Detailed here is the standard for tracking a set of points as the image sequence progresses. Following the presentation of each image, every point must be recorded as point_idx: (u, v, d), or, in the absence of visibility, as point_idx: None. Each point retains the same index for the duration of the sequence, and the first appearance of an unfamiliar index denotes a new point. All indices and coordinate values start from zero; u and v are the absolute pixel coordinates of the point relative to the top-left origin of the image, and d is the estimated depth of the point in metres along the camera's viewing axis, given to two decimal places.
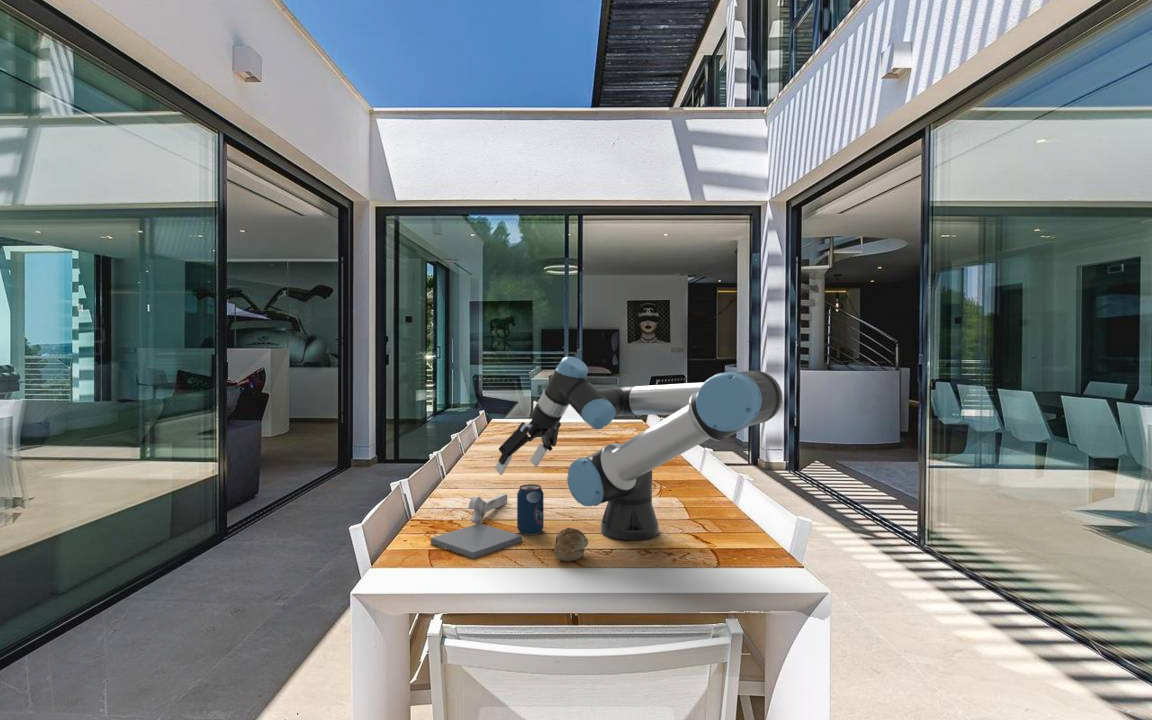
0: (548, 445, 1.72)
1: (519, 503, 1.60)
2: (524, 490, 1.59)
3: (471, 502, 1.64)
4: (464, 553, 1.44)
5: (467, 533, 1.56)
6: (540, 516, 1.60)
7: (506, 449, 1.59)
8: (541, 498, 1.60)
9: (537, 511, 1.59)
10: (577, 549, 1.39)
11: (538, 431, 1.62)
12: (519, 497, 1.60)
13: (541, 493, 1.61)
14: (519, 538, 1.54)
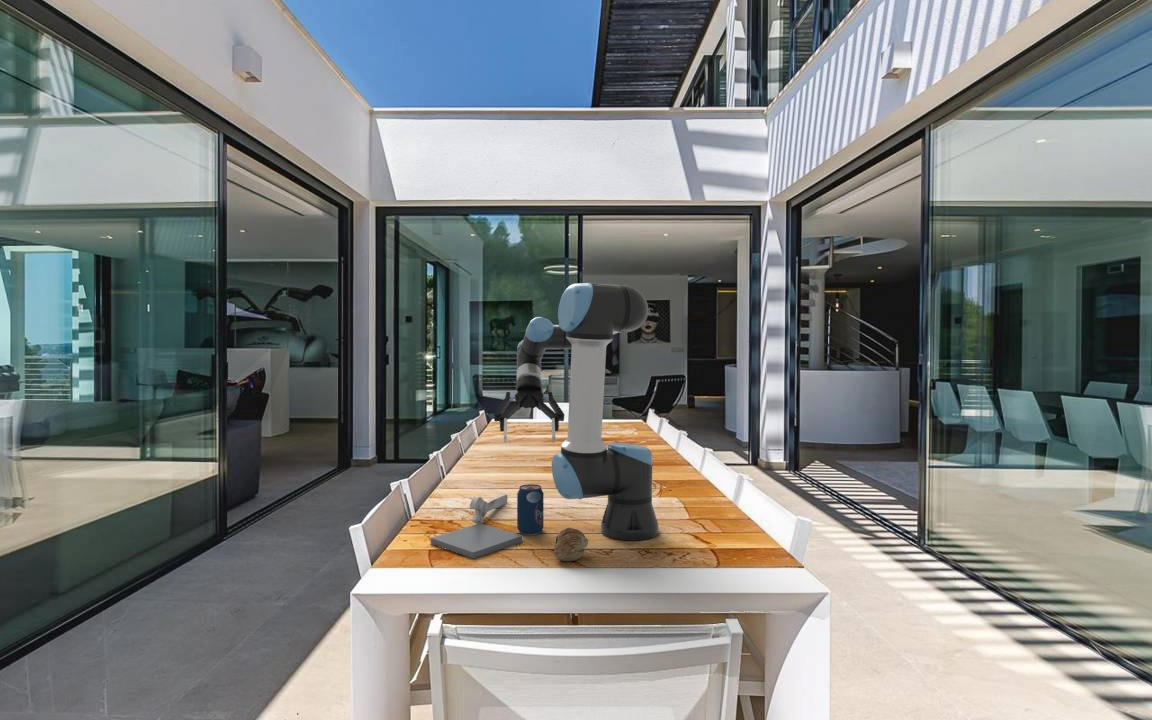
0: (552, 413, 1.78)
1: (519, 503, 1.60)
2: (524, 490, 1.59)
3: (472, 502, 1.64)
4: (464, 553, 1.44)
5: (467, 533, 1.56)
6: (540, 516, 1.60)
7: None
8: (541, 498, 1.60)
9: (537, 511, 1.59)
10: (577, 549, 1.39)
11: None
12: (519, 497, 1.60)
13: (541, 493, 1.61)
14: (519, 538, 1.54)
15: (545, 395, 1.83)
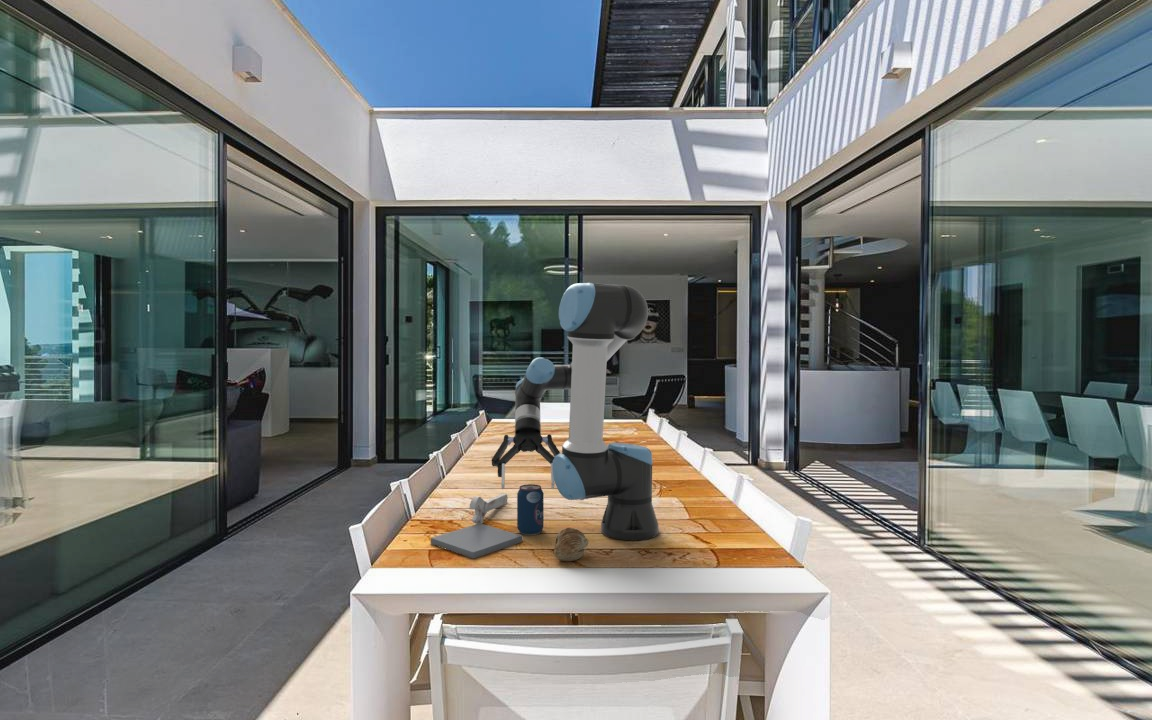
0: (552, 458, 1.73)
1: (519, 503, 1.60)
2: (524, 490, 1.59)
3: (472, 502, 1.64)
4: (464, 553, 1.44)
5: (467, 533, 1.56)
6: (540, 516, 1.60)
7: None
8: (541, 498, 1.60)
9: (537, 511, 1.59)
10: (577, 549, 1.39)
11: None
12: (519, 497, 1.60)
13: (541, 493, 1.61)
14: (519, 538, 1.54)
15: (544, 438, 1.78)
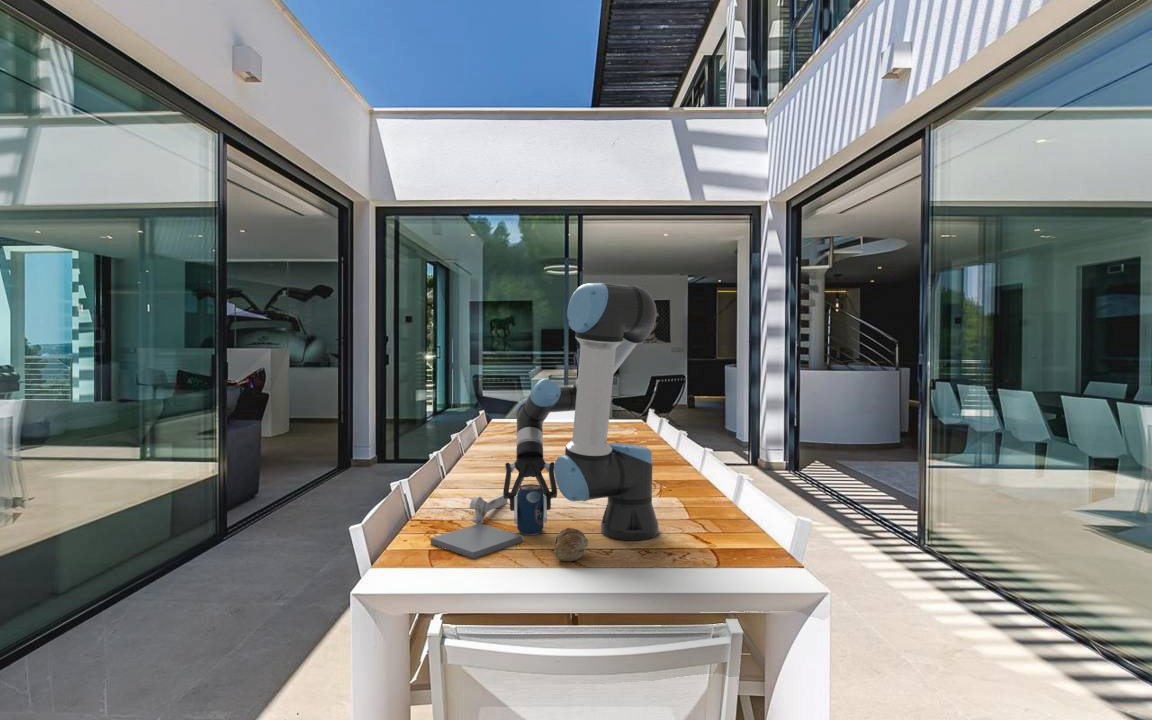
0: (545, 489, 1.64)
1: (519, 503, 1.60)
2: (524, 490, 1.59)
3: (472, 502, 1.65)
4: (464, 553, 1.44)
5: (467, 533, 1.56)
6: (540, 516, 1.60)
7: (504, 489, 1.64)
8: (541, 498, 1.60)
9: (537, 511, 1.59)
10: (577, 549, 1.39)
11: (523, 463, 1.69)
12: (519, 497, 1.60)
13: (541, 493, 1.61)
14: (519, 538, 1.54)
15: (547, 464, 1.70)
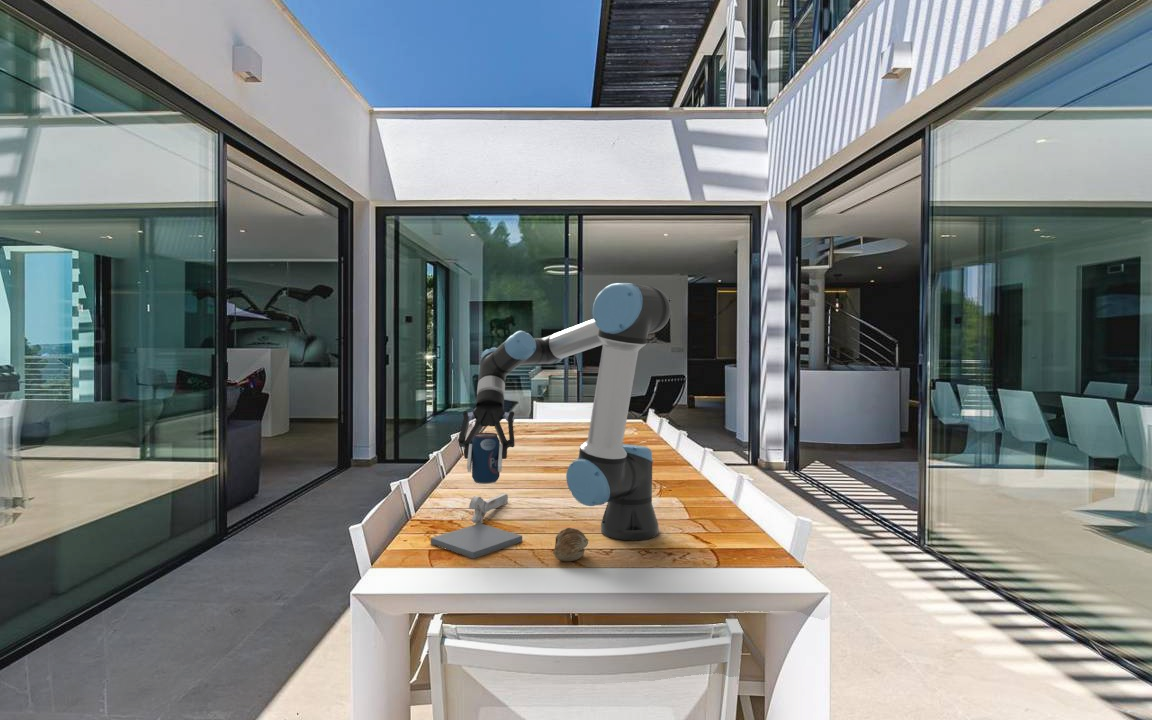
0: (502, 438, 1.58)
1: (473, 451, 1.54)
2: (478, 437, 1.53)
3: (472, 502, 1.65)
4: (464, 553, 1.44)
5: (467, 533, 1.56)
6: (495, 465, 1.54)
7: None
8: (496, 446, 1.54)
9: (491, 459, 1.53)
10: (577, 549, 1.39)
11: None
12: (473, 444, 1.54)
13: (496, 441, 1.55)
14: (519, 538, 1.54)
15: (506, 413, 1.64)
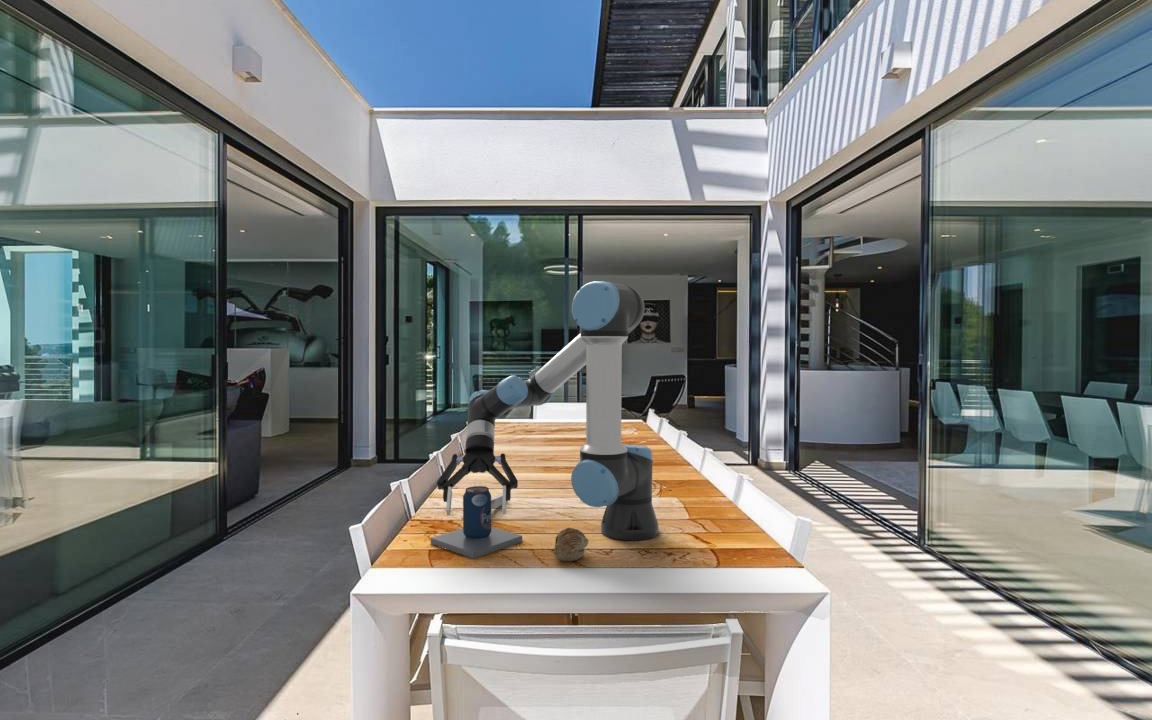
0: (504, 480, 1.56)
1: (464, 506, 1.51)
2: (469, 493, 1.51)
3: None
4: (464, 553, 1.44)
5: None
6: (487, 520, 1.51)
7: None
8: (488, 501, 1.51)
9: (483, 514, 1.50)
10: (577, 549, 1.39)
11: None
12: (464, 500, 1.51)
13: (488, 496, 1.52)
14: (519, 538, 1.54)
15: (497, 457, 1.62)
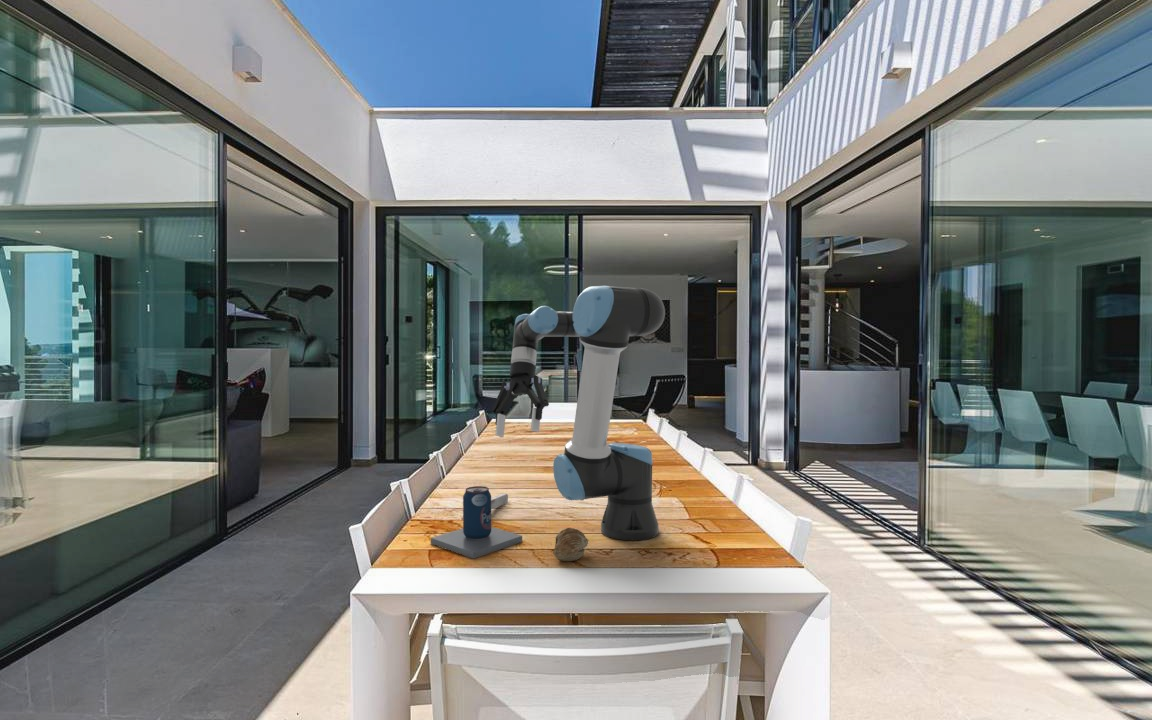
0: (534, 402, 1.74)
1: (464, 506, 1.51)
2: (469, 492, 1.51)
3: None
4: (464, 553, 1.44)
5: None
6: (487, 520, 1.51)
7: None
8: (488, 501, 1.52)
9: (483, 514, 1.50)
10: (577, 549, 1.39)
11: None
12: (464, 500, 1.51)
13: (488, 496, 1.52)
14: (519, 538, 1.54)
15: (533, 379, 1.79)
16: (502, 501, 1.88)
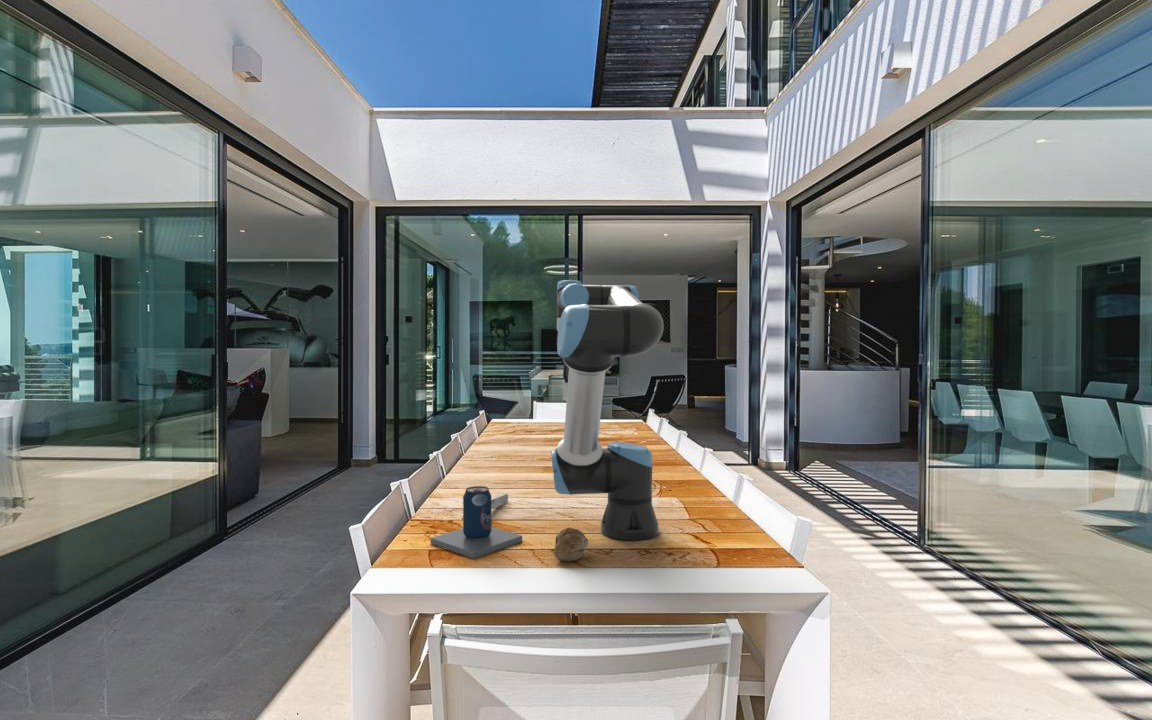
0: (567, 377, 1.79)
1: (464, 506, 1.51)
2: (470, 492, 1.51)
3: None
4: (464, 553, 1.44)
5: None
6: (487, 520, 1.51)
7: None
8: (488, 501, 1.52)
9: (483, 514, 1.50)
10: (577, 549, 1.39)
11: None
12: (464, 500, 1.51)
13: (488, 496, 1.52)
14: (519, 538, 1.54)
15: None
16: (502, 501, 1.88)
